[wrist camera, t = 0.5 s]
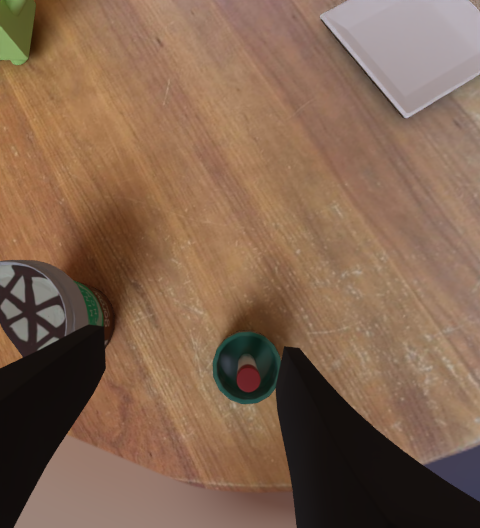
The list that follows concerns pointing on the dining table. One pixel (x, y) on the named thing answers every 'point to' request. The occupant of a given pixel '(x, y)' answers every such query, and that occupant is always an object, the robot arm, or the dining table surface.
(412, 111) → the plate
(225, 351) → the thermos cup
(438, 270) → the dining table surface
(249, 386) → the marker
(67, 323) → the cake slice
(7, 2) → the kettle
